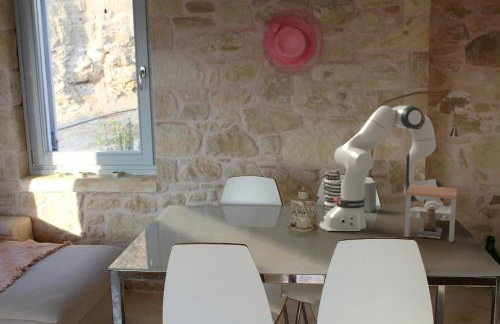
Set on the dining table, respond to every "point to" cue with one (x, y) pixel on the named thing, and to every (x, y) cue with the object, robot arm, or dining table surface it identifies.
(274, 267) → the dining table surface
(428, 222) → the peg
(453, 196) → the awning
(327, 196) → the decorative candle
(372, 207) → the skincare box
